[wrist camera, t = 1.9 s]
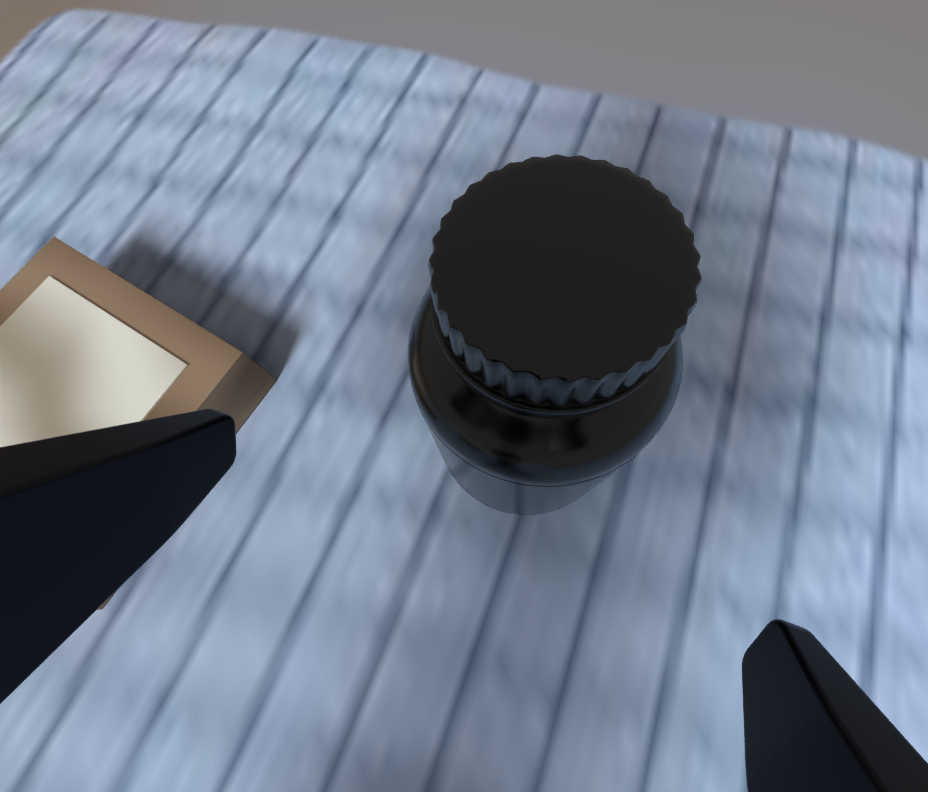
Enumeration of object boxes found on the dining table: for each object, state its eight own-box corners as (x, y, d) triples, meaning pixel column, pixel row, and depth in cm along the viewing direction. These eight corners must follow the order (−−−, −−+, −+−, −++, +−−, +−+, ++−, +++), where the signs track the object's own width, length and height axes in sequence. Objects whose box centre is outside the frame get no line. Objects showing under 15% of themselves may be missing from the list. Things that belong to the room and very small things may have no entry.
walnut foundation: (102, 608, 18) (27, 619, 15) (-69, 464, 21) (-162, 449, 18) (277, 379, 21) (241, 351, 18) (107, 274, 23) (51, 234, 20)
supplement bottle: (624, 503, 18) (834, 422, 7) (450, 527, 18) (380, 485, 7) (587, 344, 21) (700, 86, 9) (432, 366, 21) (356, 139, 9)
